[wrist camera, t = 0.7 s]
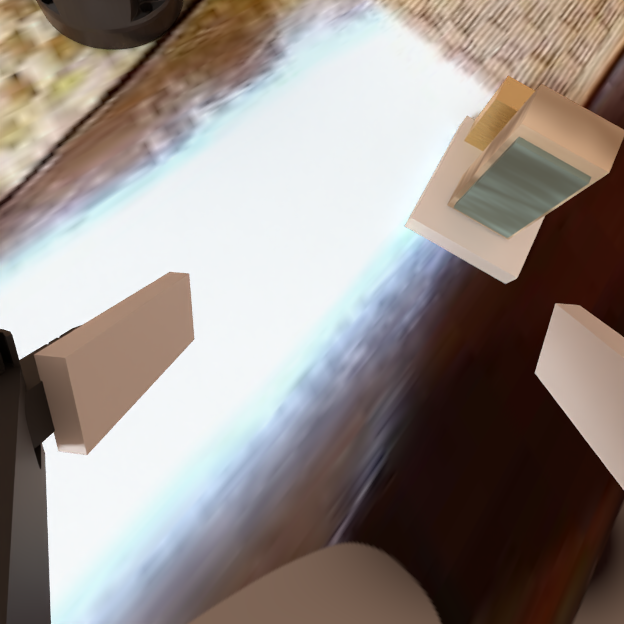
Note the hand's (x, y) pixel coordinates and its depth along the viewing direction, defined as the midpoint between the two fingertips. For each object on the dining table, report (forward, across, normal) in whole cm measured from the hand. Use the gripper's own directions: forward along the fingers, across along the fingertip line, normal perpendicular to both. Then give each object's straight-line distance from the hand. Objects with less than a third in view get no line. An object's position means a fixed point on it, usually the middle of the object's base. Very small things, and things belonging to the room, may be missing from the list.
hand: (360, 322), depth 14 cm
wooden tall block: (+29, +12, +1) cm, 32 cm away
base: (+32, +12, +1) cm, 35 cm away
